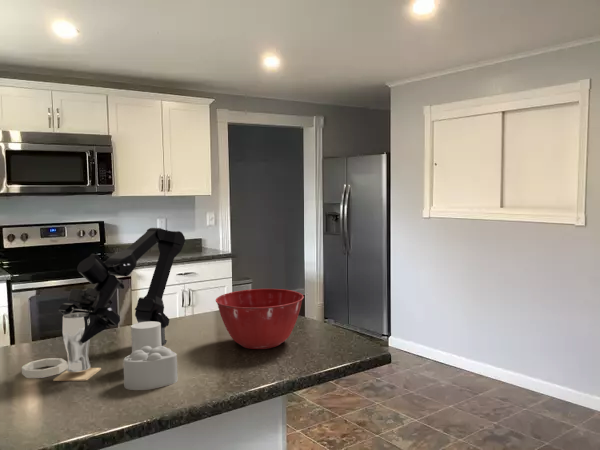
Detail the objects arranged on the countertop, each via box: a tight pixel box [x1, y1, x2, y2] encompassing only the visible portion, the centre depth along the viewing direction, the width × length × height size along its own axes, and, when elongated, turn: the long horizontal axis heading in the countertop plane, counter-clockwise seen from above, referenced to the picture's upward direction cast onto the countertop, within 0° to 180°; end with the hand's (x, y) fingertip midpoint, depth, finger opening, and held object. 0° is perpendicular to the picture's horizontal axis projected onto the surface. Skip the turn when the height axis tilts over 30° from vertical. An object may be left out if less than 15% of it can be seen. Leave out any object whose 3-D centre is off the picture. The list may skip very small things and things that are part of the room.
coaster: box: [52, 367, 102, 382], centre depth 141 cm, size 9×9×1 cm
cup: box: [130, 321, 162, 353], centre depth 147 cm, size 8×8×12 cm
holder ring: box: [21, 357, 68, 379], centre depth 144 cm, size 11×11×2 cm
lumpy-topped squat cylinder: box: [122, 345, 179, 391], centre depth 134 cm, size 10×13×9 cm
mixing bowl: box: [215, 288, 305, 350], centre depth 167 cm, size 28×28×15 cm
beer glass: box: [62, 312, 91, 373], centre depth 141 cm, size 7×7×15 cm
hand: (72, 341), depth 139 cm, fingers closed on beer glass, 6 cm apart
